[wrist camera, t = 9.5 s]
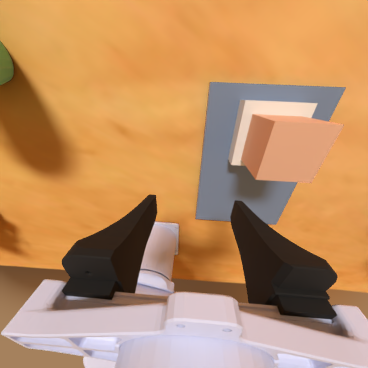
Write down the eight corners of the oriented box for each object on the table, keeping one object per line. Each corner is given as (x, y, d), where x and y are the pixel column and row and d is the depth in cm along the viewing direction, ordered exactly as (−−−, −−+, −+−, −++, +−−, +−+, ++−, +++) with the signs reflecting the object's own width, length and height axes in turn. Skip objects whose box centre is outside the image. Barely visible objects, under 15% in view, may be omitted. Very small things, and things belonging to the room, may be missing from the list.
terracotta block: (282, 161, 18) (311, 183, 13) (240, 159, 18) (255, 179, 14) (301, 116, 15) (344, 124, 11) (252, 114, 15) (275, 121, 11)
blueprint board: (273, 221, 26) (281, 233, 24) (195, 215, 27) (195, 227, 24) (339, 87, 16) (365, 86, 13) (209, 82, 16) (212, 80, 14)
